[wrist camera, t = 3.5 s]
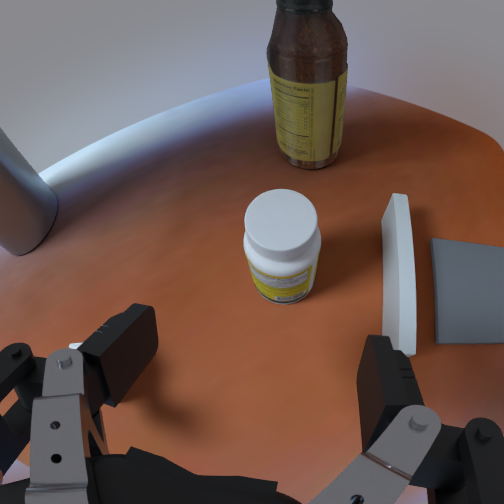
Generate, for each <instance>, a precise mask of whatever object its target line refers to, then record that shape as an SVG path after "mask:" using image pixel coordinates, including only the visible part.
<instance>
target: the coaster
mask: <svg viewBox="0 0 504 504" xmlns="http://www.w3.org/2000/svg"><path fill="white" fill-rule="evenodd" d="M430 247H431V257H432V268H433V281H434V298H435V344H504V248H503V247H496V246H489V245H482V244H475V243H468V242H460V241H453V240H445V239H437V238H432V239H431V240H430Z"/></svg>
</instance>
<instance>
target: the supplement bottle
mask: <svg viewBox="0 0 504 504" xmlns="http://www.w3.org/2000/svg"><path fill="white" fill-rule="evenodd" d="M244 222H245V229H246V231H245V234H244V250H245V254H246V257H247V260H248V264H249V267H250V270H251V274H252V277H253V280H254V283H255V286H256V288H257V290H258V292H259V293H260V294H261V295H262V296H263V297H264V298H265V299H267V300H269V301H271V302H273V303H277V304H291V303H295V302H297V301H299V300H301V299H302V298H304V297H305V296H306V295H307V294H308V293H309V291H310V290H311V288H312V286H313V284H314V280H315V275H316V269H317V263H318V258H319V253H320V248H321V234H320V230H319V228H318V226H317V223H318V218H317V213H316V210H315V208H314V206H313V204H312V203H311V202H310V201H309V200H308V199H307V198H306V197H305V196H304V195H302V194H300V193H298V192H296V191H293V190H288V189H275V190H270V191H267V192H264V193H262V194H261V195H259V196H258V197H256V198H255V199H254V200H253V201H252V202H251V204H250V205H249V206H248V208H247V210H246V213H245V221H244Z"/></svg>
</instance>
